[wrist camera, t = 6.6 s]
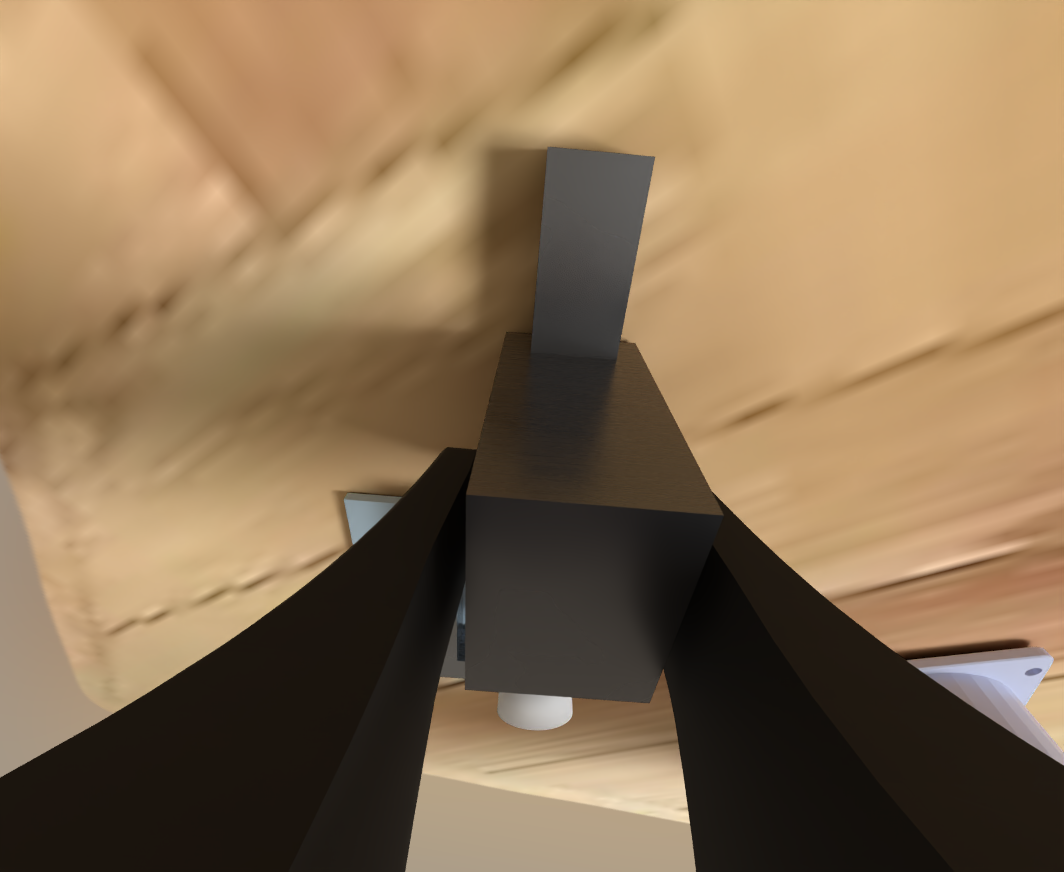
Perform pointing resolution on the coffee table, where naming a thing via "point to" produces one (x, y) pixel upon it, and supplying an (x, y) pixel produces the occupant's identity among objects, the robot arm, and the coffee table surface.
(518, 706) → the keeper
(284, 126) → the coffee table surface
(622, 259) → the grey block with tab
